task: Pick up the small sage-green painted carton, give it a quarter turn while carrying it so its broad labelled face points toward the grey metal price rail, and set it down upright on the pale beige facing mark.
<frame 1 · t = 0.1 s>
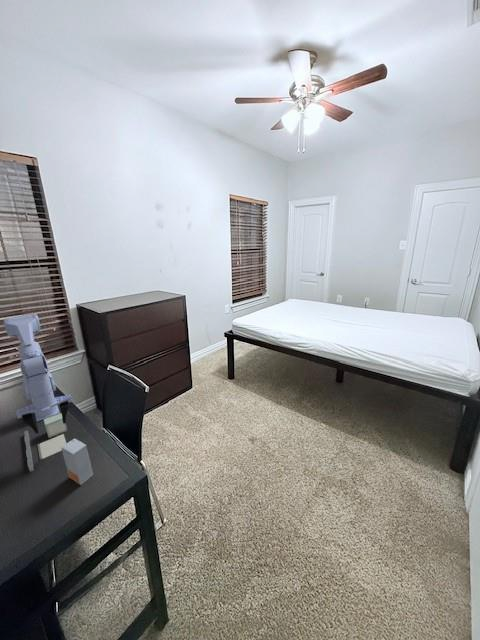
hand: (51, 426, 89), 10 cm above the table, fingers open, 7 cm apart
sage carton: (57, 431, 101), on the table
price rail: (29, 451, 92), on the table
skincare box: (81, 477, 82), on the table
facing mark: (52, 446, 94), on the table
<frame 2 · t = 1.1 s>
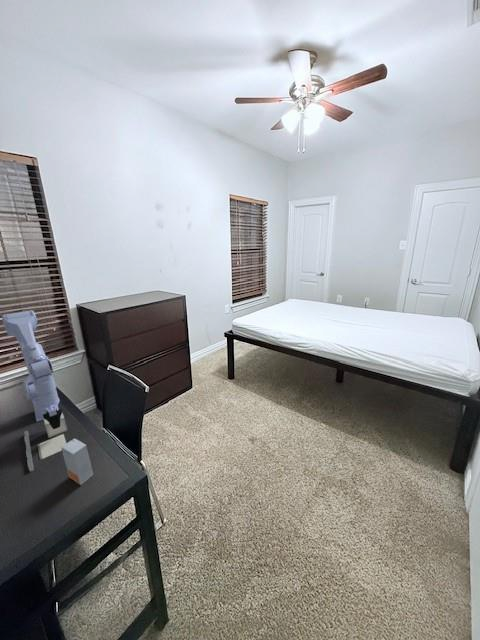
hand: (55, 422, 100), 4 cm above the table, fingers open, 7 cm apart
nothing on the table moved.
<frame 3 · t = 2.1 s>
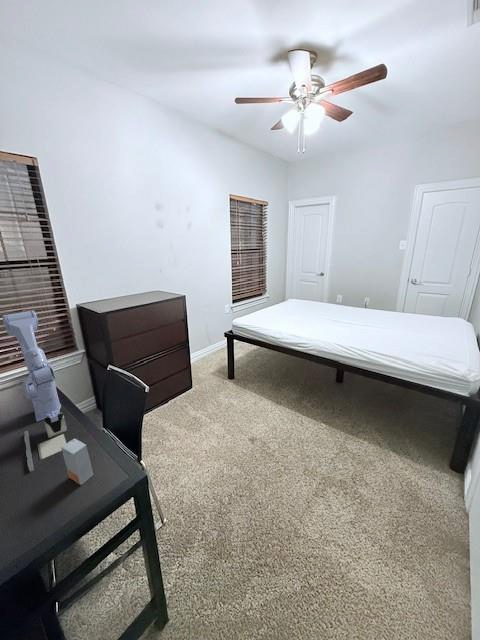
hand: (56, 427, 101), 2 cm above the table, fingers closed on sage carton, 4 cm apart
sage carton: (57, 431, 101), on the table, touching gripper
everything else where it was.
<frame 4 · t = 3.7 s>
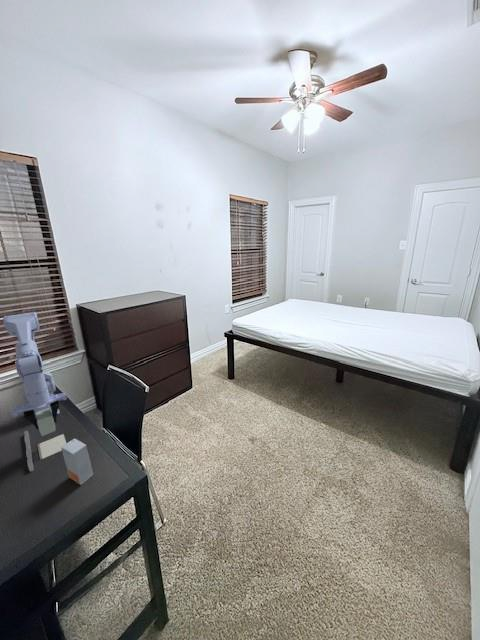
hand: (46, 424, 91), 9 cm above the table, fingers closed on sage carton, 4 cm apart
sage carton: (47, 428, 92), point 8 cm above the table, touching gripper
everything else where it was.
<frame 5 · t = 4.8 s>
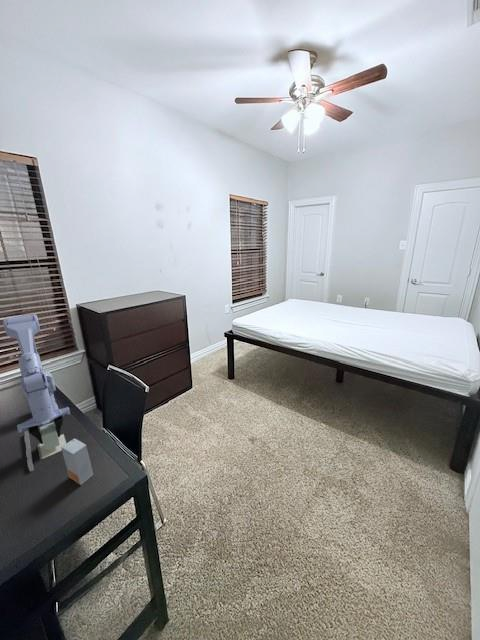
hand: (50, 438, 93), 3 cm above the table, fingers closed on sage carton, 4 cm apart
sage carton: (51, 443, 93), point 1 cm above the table, touching gripper
everything else where it was.
when the fingers open (3 cm above the table, at t = 5.8 s): sage carton stays where it is, resting on facing mark.
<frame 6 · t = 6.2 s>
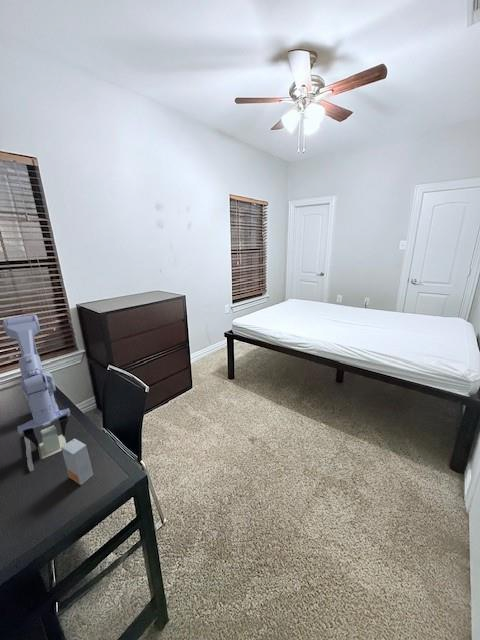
hand: (50, 440, 93), 3 cm above the table, fingers open, 7 cm apart
sage carton: (52, 445, 94), resting on facing mark
everything else where it was.
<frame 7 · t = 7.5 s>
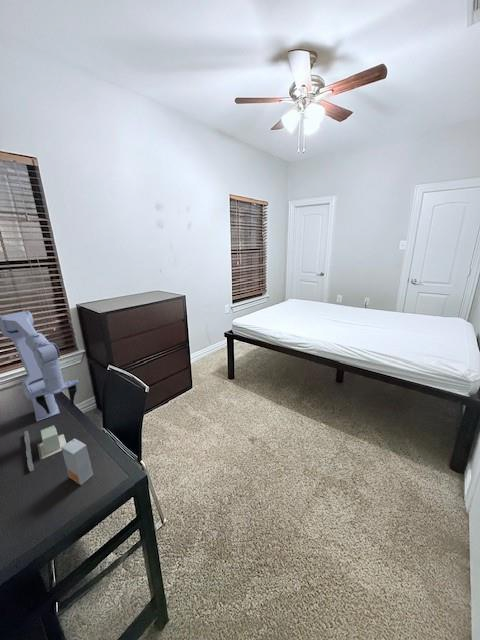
hand: (60, 408, 100), 9 cm above the table, fingers open, 7 cm apart
nothing on the table moved.
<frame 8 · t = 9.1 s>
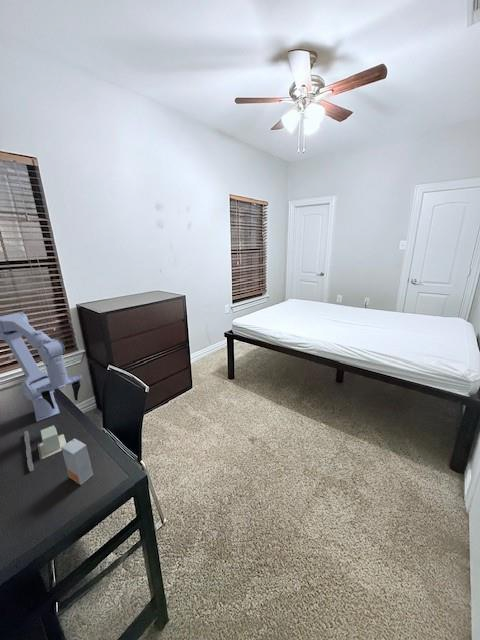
hand: (64, 403, 103), 9 cm above the table, fingers open, 7 cm apart
nothing on the table moved.
at the end: sage carton inside the target area (0.0 cm from its centre), resting on facing mark; sage carton tilted 0°; the gripper is holding nothing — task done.
